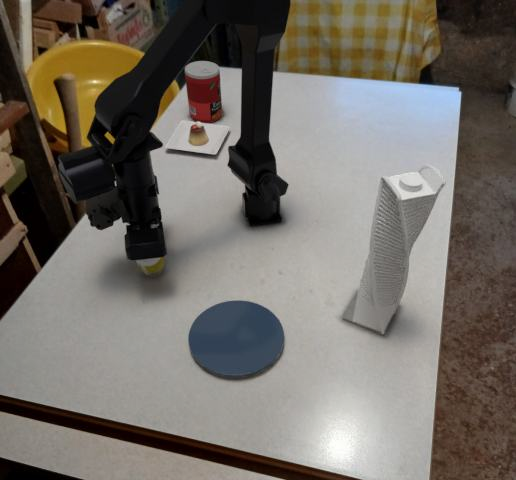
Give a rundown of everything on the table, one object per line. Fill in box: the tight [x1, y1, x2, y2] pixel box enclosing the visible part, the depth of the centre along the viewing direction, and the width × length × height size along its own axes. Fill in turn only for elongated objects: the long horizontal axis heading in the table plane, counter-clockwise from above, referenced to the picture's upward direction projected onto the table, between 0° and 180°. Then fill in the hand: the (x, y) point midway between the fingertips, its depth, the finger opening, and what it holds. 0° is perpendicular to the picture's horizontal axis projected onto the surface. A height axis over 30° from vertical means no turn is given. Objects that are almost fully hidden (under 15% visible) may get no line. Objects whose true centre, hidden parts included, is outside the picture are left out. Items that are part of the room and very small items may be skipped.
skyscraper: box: [342, 163, 447, 336], centre depth 72 cm, size 8×8×28 cm
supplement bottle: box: [134, 256, 166, 276], centre depth 85 cm, size 5×5×8 cm
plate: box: [187, 299, 285, 379], centre depth 80 cm, size 15×15×1 cm
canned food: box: [184, 60, 223, 124], centre depth 118 cm, size 8×8×11 cm
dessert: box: [163, 119, 231, 156], centre depth 114 cm, size 12×12×5 cm
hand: (150, 251), depth 91 cm, fingers closed, pressing on supplement bottle
